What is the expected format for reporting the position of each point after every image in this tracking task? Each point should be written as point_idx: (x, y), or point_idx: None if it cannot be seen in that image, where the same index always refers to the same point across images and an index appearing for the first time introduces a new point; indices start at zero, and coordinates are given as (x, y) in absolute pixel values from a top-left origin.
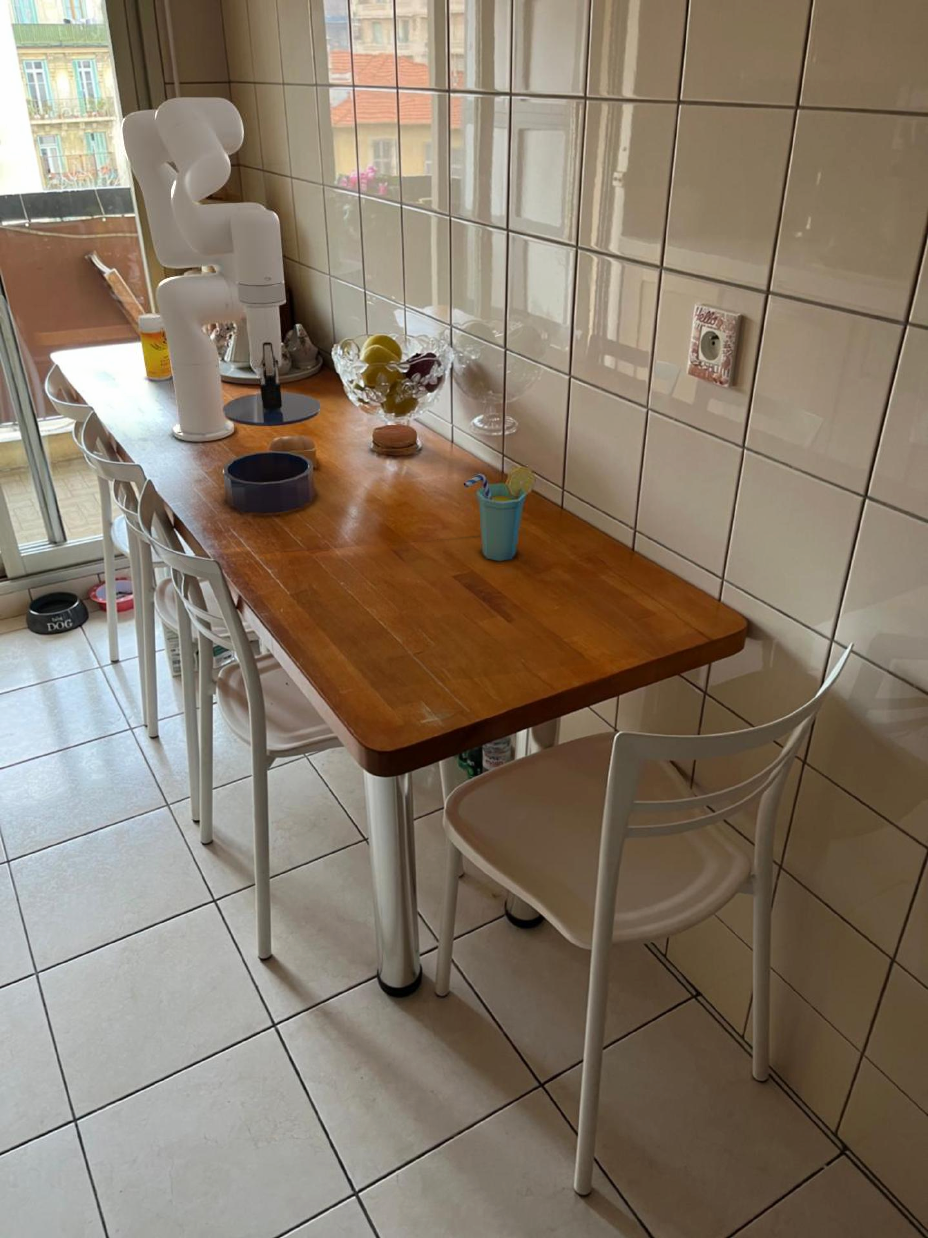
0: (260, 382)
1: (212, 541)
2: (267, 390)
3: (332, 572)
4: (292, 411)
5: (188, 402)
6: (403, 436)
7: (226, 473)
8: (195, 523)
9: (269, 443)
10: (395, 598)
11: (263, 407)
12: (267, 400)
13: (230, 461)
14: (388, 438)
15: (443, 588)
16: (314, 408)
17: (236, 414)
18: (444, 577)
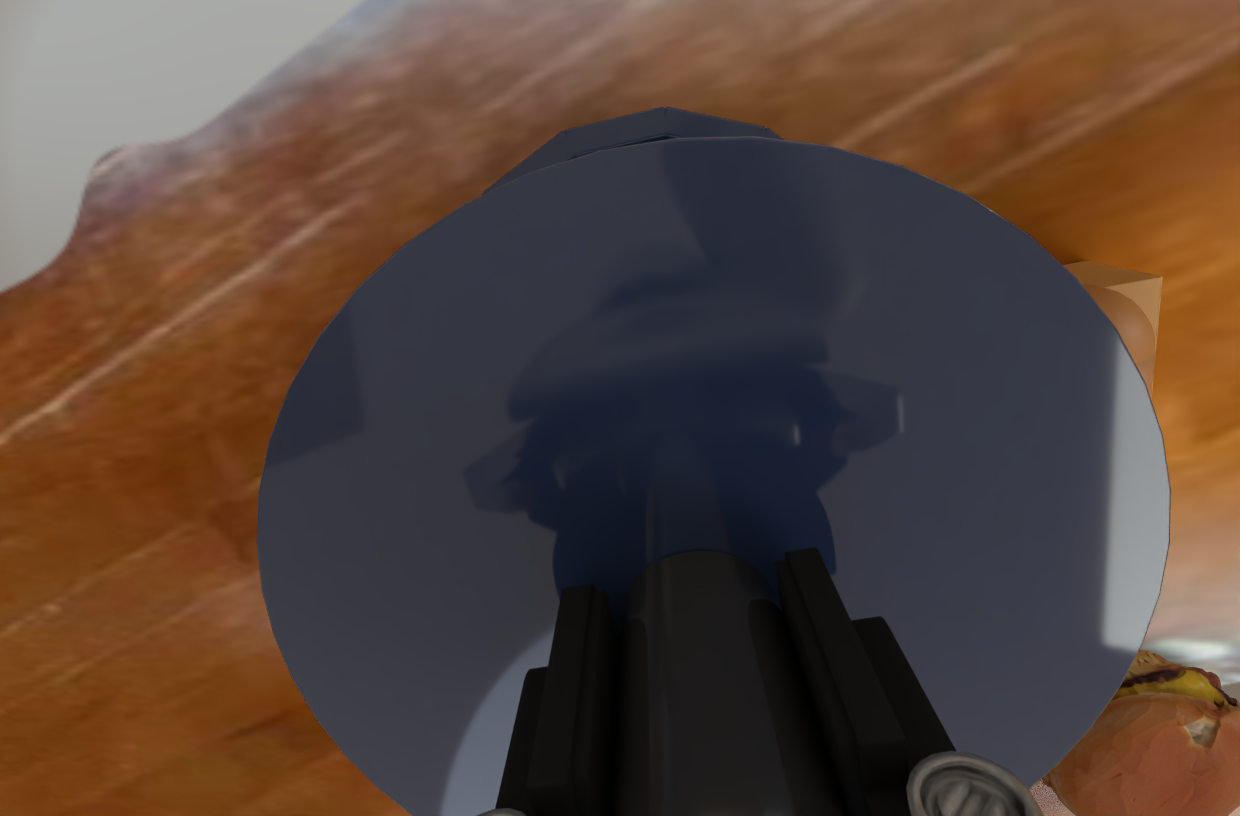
0: (845, 705)
1: (215, 152)
2: (501, 801)
3: (106, 580)
4: None
5: None
6: (1090, 808)
7: (560, 151)
8: (370, 26)
9: (1160, 277)
10: (21, 722)
11: (563, 591)
12: (524, 691)
13: (750, 136)
14: (1091, 760)
15: (109, 809)
16: None
17: (448, 339)
18: (165, 813)
